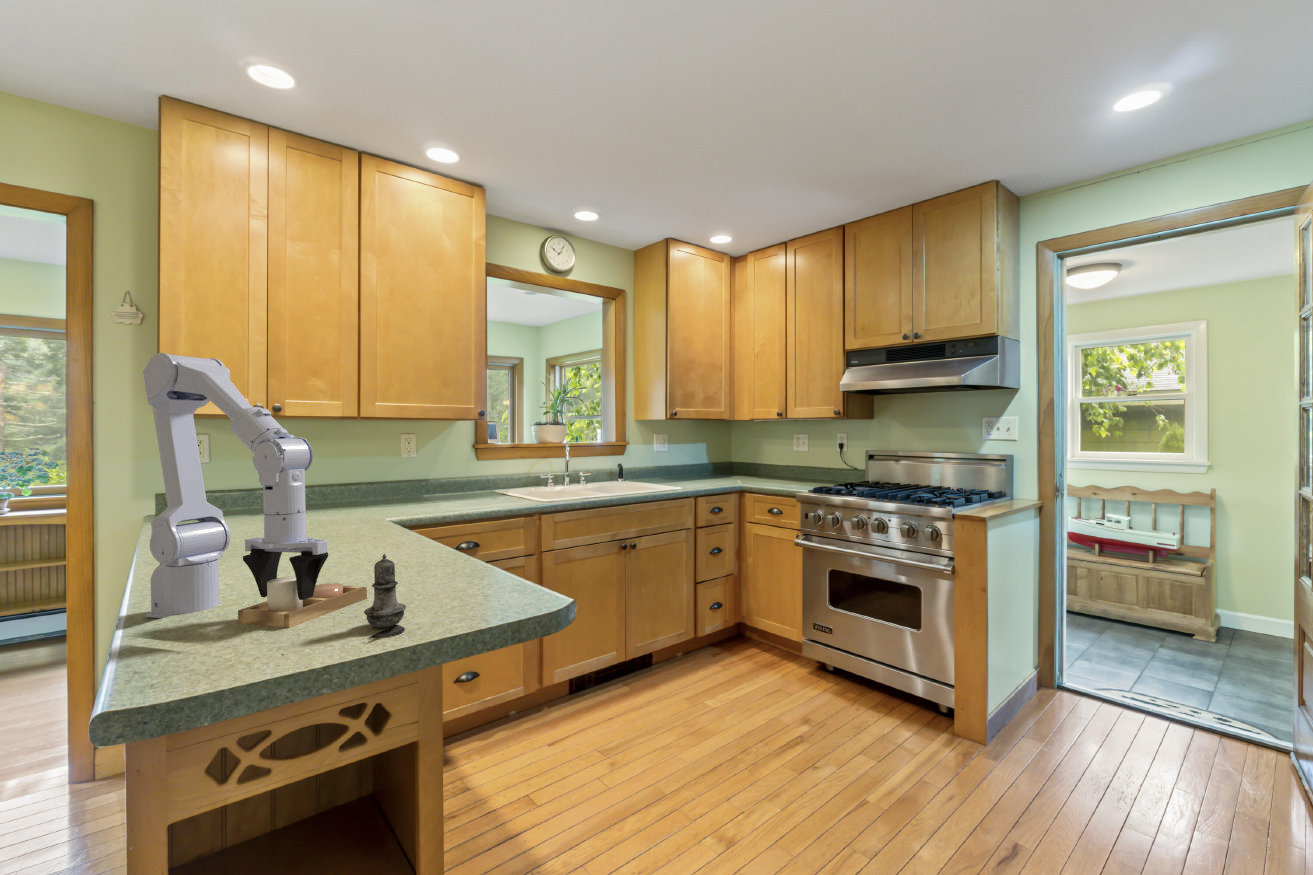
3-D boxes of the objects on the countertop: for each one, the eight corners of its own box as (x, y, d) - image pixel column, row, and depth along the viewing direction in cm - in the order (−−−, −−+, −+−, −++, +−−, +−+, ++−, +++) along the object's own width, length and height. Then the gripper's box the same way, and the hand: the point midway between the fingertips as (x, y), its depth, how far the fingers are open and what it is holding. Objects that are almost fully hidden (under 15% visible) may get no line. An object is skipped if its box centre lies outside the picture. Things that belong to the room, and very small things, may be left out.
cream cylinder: (260, 620, 93) (259, 582, 93) (287, 611, 98) (286, 575, 97) (283, 623, 91) (282, 584, 91) (310, 613, 96) (309, 577, 96)
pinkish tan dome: (298, 607, 100) (297, 590, 100) (324, 597, 105) (324, 582, 105) (324, 609, 99) (324, 592, 99) (350, 599, 104) (350, 584, 104)
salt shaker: (390, 640, 86) (388, 558, 86) (355, 637, 87) (353, 557, 87) (414, 626, 92) (413, 550, 92) (381, 624, 93) (379, 549, 93)
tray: (238, 629, 92) (237, 610, 92) (321, 600, 107) (320, 584, 107) (289, 634, 89) (289, 614, 89) (367, 603, 105) (366, 587, 105)
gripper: (226, 515, 93) (228, 601, 93) (300, 517, 89) (302, 606, 89) (266, 509, 99) (268, 589, 100) (337, 510, 96) (338, 594, 96)
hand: (286, 596), depth 95 cm, fingers open, 7 cm apart
